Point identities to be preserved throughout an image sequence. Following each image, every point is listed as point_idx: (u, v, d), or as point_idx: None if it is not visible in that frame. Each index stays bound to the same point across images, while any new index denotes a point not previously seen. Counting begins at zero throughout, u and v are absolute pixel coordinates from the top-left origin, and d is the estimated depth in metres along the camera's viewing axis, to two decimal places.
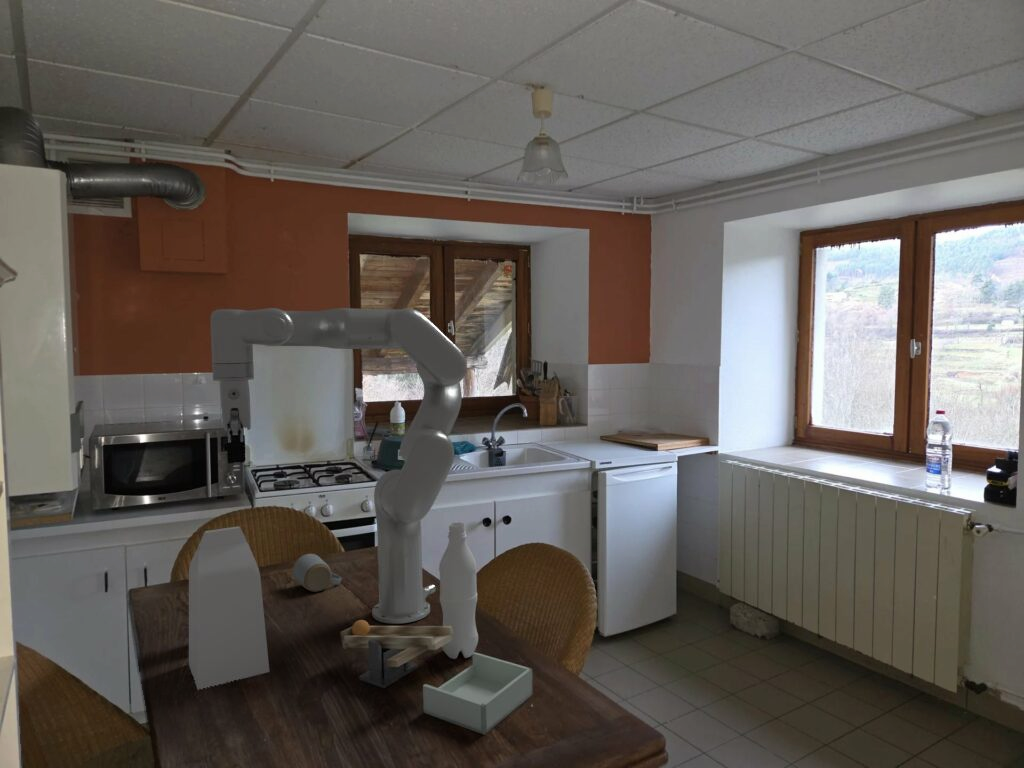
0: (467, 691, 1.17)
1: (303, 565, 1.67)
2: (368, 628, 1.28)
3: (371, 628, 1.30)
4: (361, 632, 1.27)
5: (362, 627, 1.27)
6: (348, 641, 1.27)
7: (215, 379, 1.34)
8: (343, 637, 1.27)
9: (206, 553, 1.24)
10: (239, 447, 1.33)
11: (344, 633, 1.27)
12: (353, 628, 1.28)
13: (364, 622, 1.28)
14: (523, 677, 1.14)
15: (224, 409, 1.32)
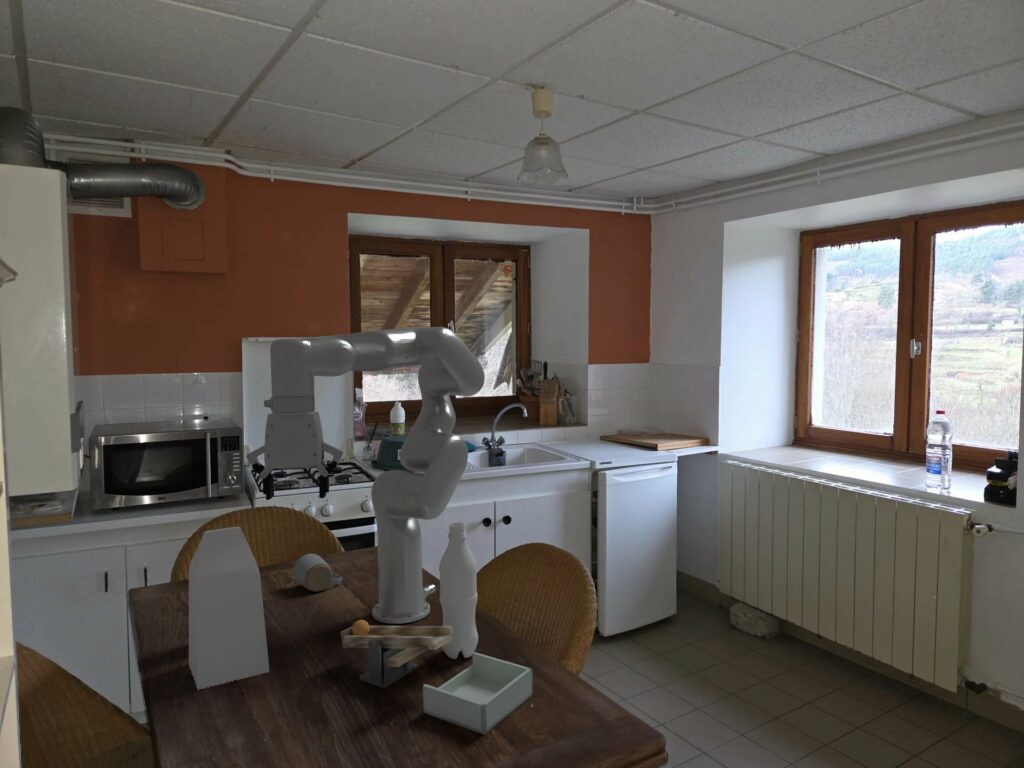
0: (467, 691, 1.17)
1: (304, 565, 1.67)
2: (368, 628, 1.28)
3: (371, 628, 1.30)
4: (361, 632, 1.27)
5: (362, 627, 1.27)
6: (348, 641, 1.27)
7: None
8: (343, 637, 1.27)
9: (206, 553, 1.24)
10: None
11: (344, 633, 1.27)
12: (353, 628, 1.28)
13: (364, 622, 1.28)
14: (523, 677, 1.14)
15: None
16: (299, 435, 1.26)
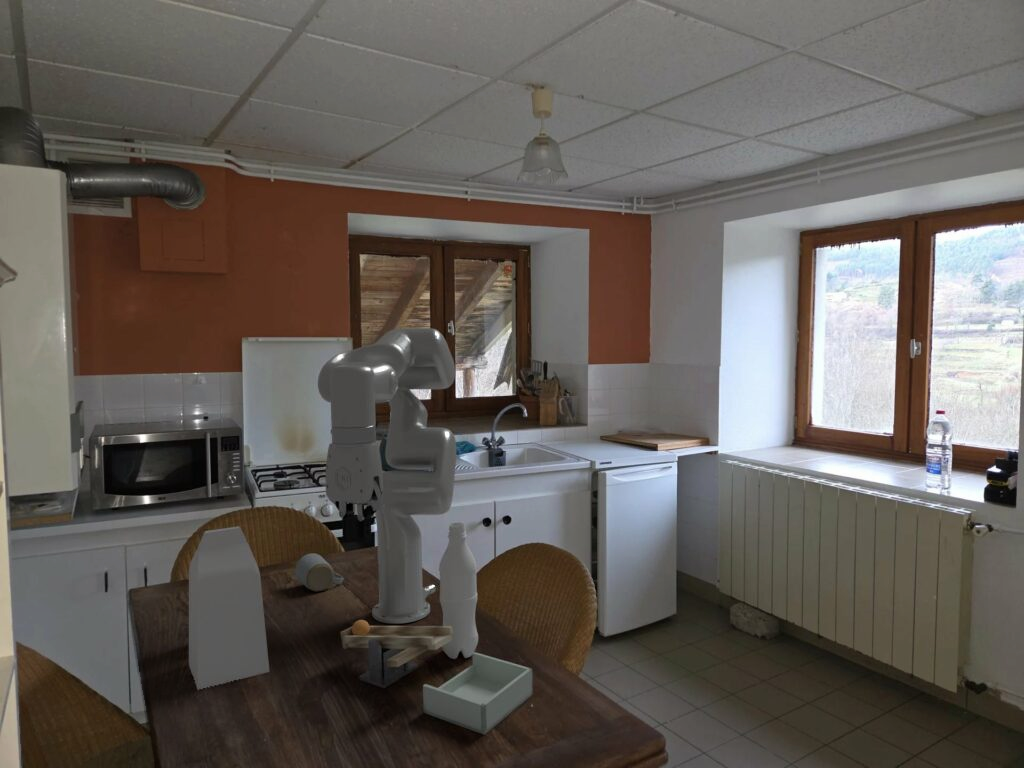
0: (467, 691, 1.17)
1: (305, 564, 1.68)
2: (368, 628, 1.28)
3: (371, 628, 1.30)
4: (361, 632, 1.27)
5: (362, 627, 1.27)
6: (348, 641, 1.27)
7: None
8: (343, 637, 1.27)
9: (206, 553, 1.24)
10: None
11: (344, 633, 1.27)
12: (353, 628, 1.28)
13: (364, 622, 1.28)
14: (523, 677, 1.14)
15: None
16: (349, 468, 1.18)
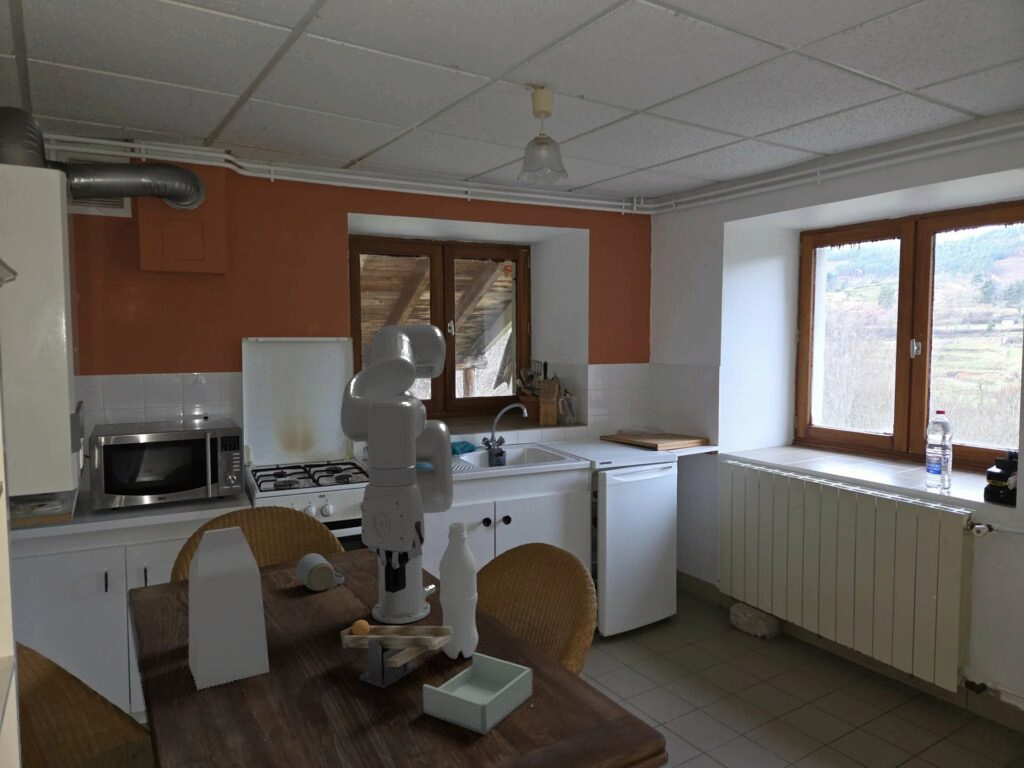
0: (467, 691, 1.17)
1: (306, 564, 1.68)
2: (368, 628, 1.28)
3: (371, 628, 1.30)
4: (361, 632, 1.27)
5: (362, 627, 1.27)
6: (348, 641, 1.27)
7: None
8: (343, 637, 1.27)
9: (206, 553, 1.24)
10: None
11: (344, 633, 1.27)
12: (353, 628, 1.28)
13: (364, 622, 1.28)
14: (523, 677, 1.14)
15: None
16: (388, 513, 1.08)
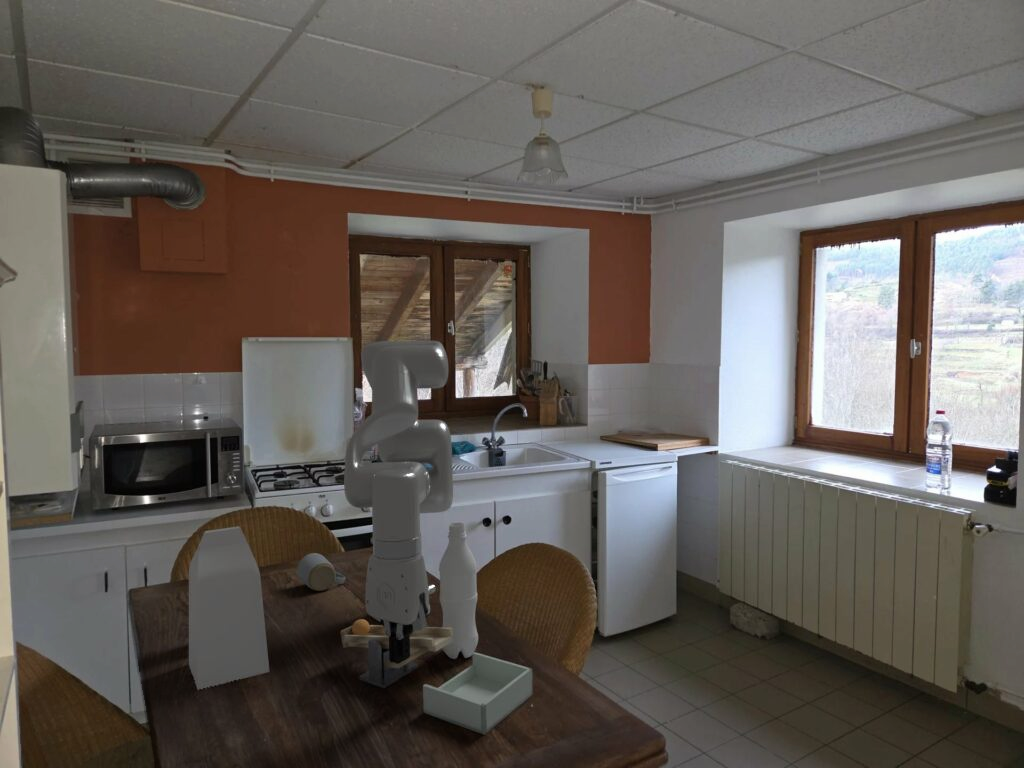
0: (467, 691, 1.17)
1: (307, 564, 1.68)
2: (368, 627, 1.28)
3: (371, 627, 1.30)
4: (361, 631, 1.27)
5: (362, 626, 1.27)
6: (348, 640, 1.27)
7: None
8: (343, 636, 1.27)
9: (206, 553, 1.24)
10: None
11: (344, 632, 1.27)
12: (353, 627, 1.28)
13: (364, 621, 1.28)
14: (523, 677, 1.14)
15: None
16: (392, 585, 1.08)
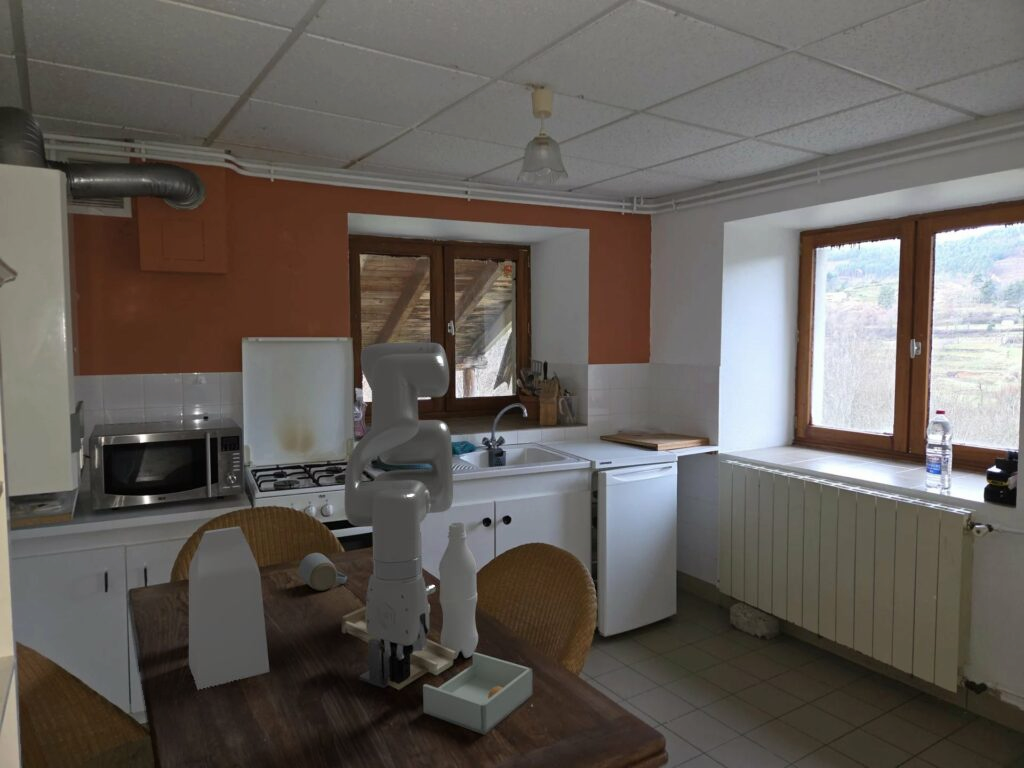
0: (467, 691, 1.17)
1: (309, 564, 1.68)
2: None
3: None
4: None
5: None
6: (348, 628, 1.26)
7: None
8: (344, 622, 1.27)
9: (206, 553, 1.24)
10: None
11: (346, 619, 1.27)
12: None
13: None
14: (523, 677, 1.14)
15: None
16: (393, 606, 1.09)
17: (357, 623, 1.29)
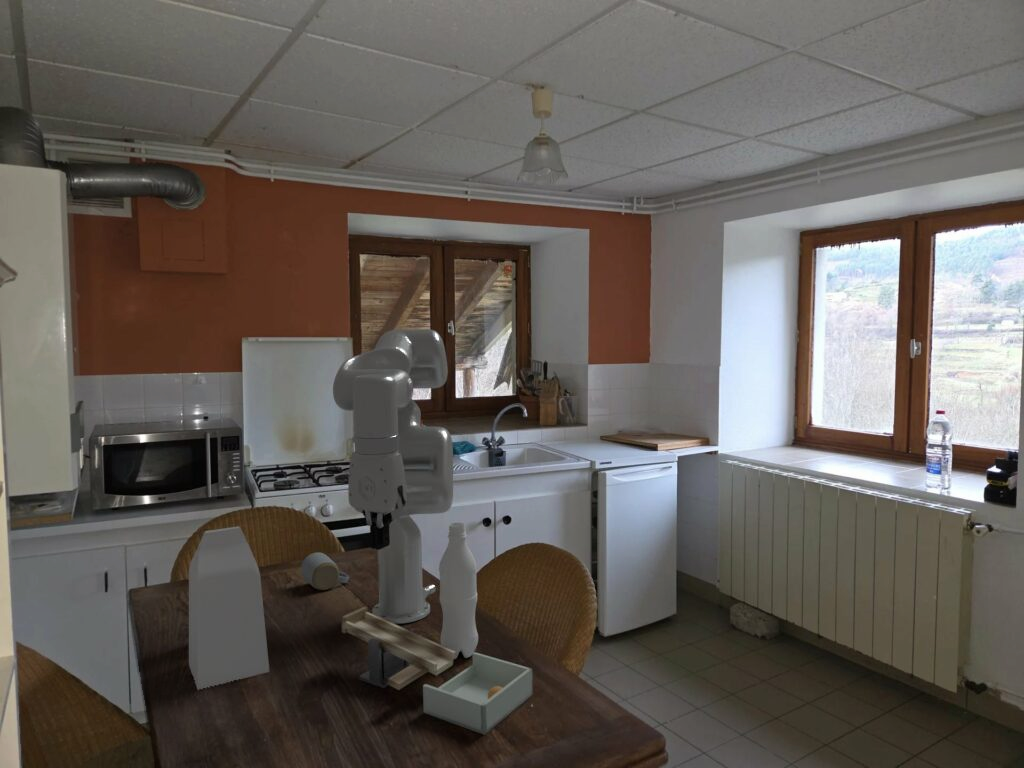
0: (467, 691, 1.17)
1: (311, 563, 1.68)
2: None
3: (372, 617, 1.30)
4: None
5: None
6: (348, 628, 1.26)
7: None
8: (344, 622, 1.27)
9: (206, 553, 1.24)
10: None
11: (346, 619, 1.27)
12: None
13: None
14: (523, 677, 1.14)
15: None
16: (373, 478, 1.19)
17: (357, 623, 1.29)
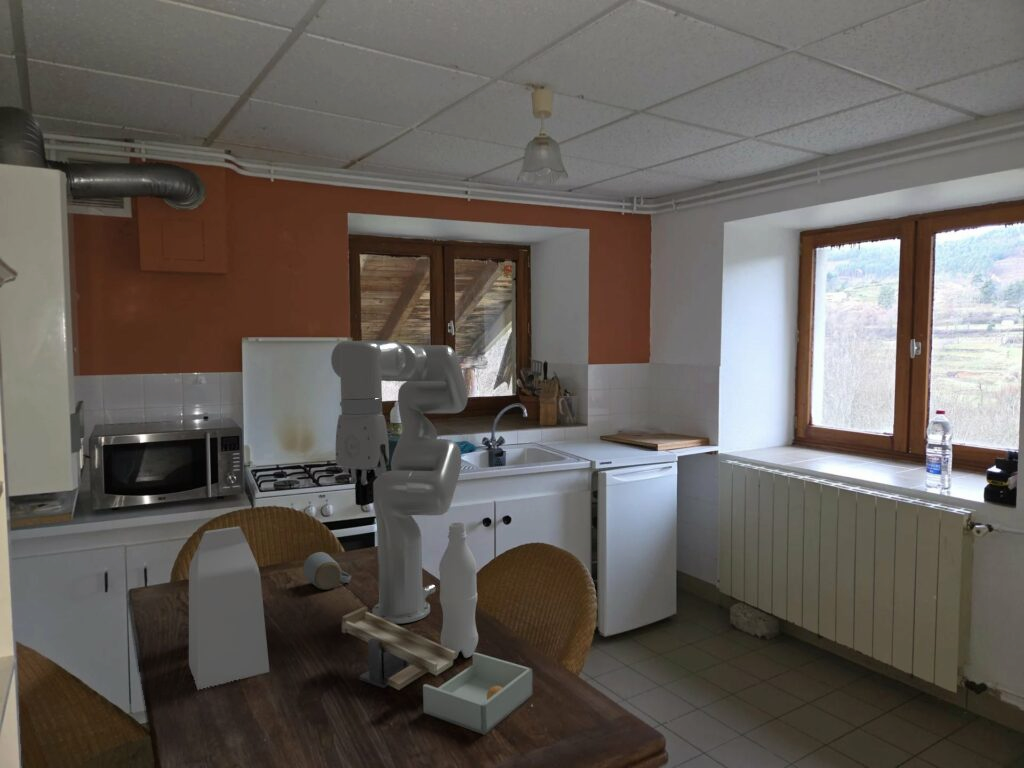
0: (467, 691, 1.17)
1: (313, 563, 1.69)
2: None
3: (372, 617, 1.30)
4: None
5: None
6: (348, 628, 1.26)
7: None
8: (344, 622, 1.27)
9: (206, 553, 1.24)
10: None
11: (346, 619, 1.27)
12: (491, 696, 1.11)
13: None
14: (523, 677, 1.14)
15: None
16: (357, 437, 1.28)
17: (357, 623, 1.29)
